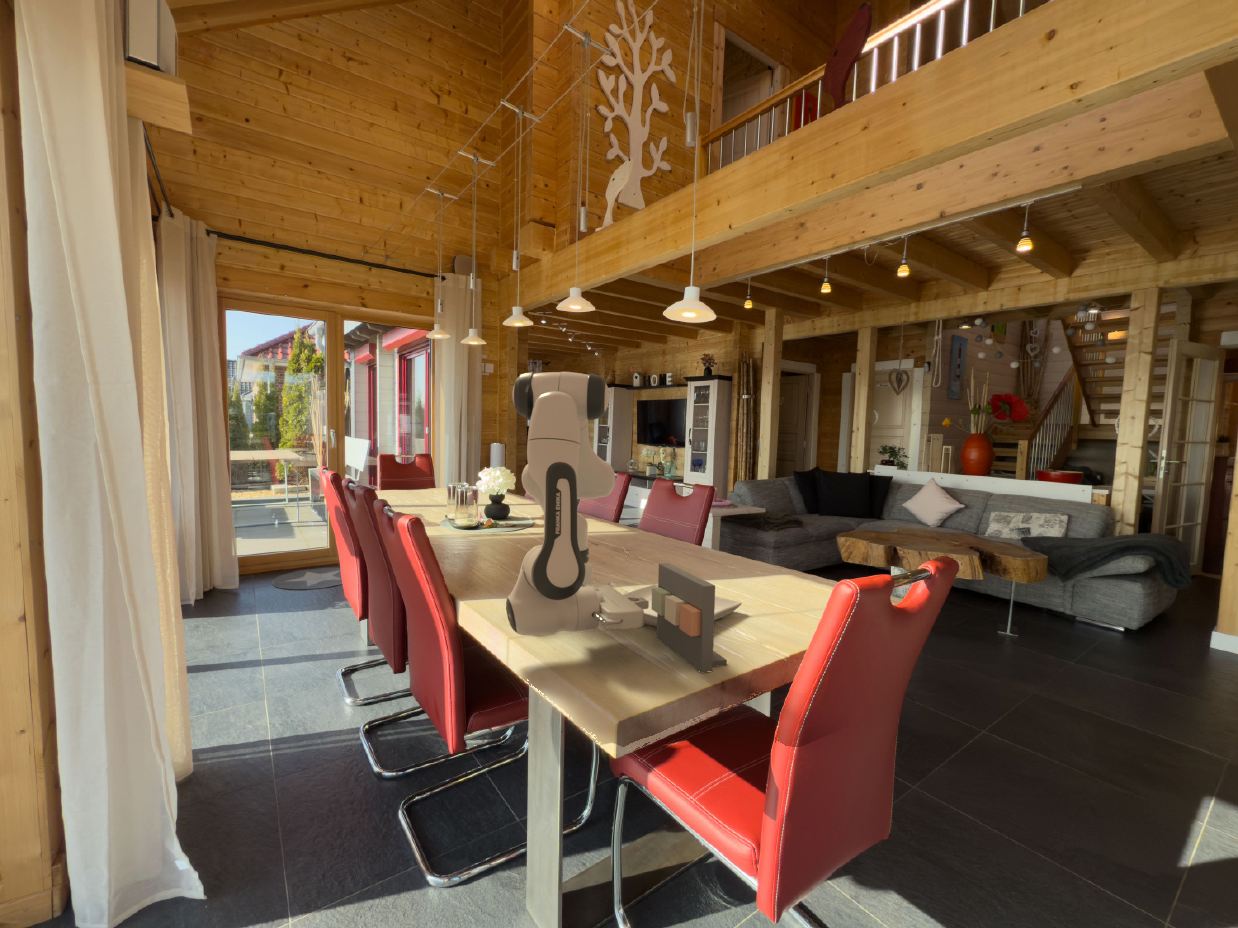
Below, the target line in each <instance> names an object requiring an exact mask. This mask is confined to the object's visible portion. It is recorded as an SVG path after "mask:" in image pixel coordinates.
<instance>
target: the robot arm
mask: <svg viewBox="0 0 1238 928" xmlns="http://www.w3.org/2000/svg"><path fill="white" fill-rule="evenodd" d="M511 394H512V395H511V396H512V403H513V406H514V409H515V412H516V413H518V414H519V415H520V416H521V417H523V418H526V420H527V421H529V426H528V432H527V434H528V435H527V445H526V447H527V448H526V460H527V461H526V462H527V464H526V465H525V466H524V468H523V470H522V473H521V483H522V487H523V490H524V491H525V492H526V493H527V494H528V495H529V496H530V497H531V498H533V499H534V501H536V502H537V504H538V505H539V506H540V508H541V510H542V512H543V542H542V544H538V545H535V546H533V547H531V548H530V549H529V550H527V552H526V553H525V554H524V556H523V557H522V561H521V567H520V570H519V575H518V577H517V580H516V582H515V584H514V587H513V589H512V591H511V593H510V594H509V595H508V596H507V598H506V601H505V609H506V610H505V611H506V616H507V619H508V622H509V625H510V627H511V629H512V630H513V631H514V632H515V633H517V634H518V635H521V636H528V637H529V636H530V637H531V636H532V637H533V636H548V635H550V636H551V635H554V634H558V633H559V632H569V633H575V632H584V631H593V630H596V629H597V628H598V627H599V624H600V625H603V626H604V627H606V628H607V629H610V630H630V629H631V630H632V629H635V630H636V629H640V628H642V627H643V626H644V624H645V623H644V611H643V609H648V607H649V602H648V601H647V600H646V599H644V598H643V597H630V596H624V595H623V594H622V593H621V592H620V591H618V590H617V589H616V588H614V587H613V586H611V585H608V584H595V583H594V580H595V579H594V568H593V566H592V565H591V564H590V563H589V561H590V559H589V557H590V549H589V547H588V535H589V534H588V533H589V532H588V529H589V528H588V527H589V526H588V521H587V519H586V517H585V516H583V515H582V514H581V513H579V512H578V500H594V499H600V498H605V497H608V496H610V495H611V493H612V492H613V490H614V489H615V486H616V480H617V479H616V474H615V473H616V472H615V470H614V468H613V467H612V466H611V464H610V463H609V462H607V461H605V460H603V459H602V458H601V457H600V456H599V455H597V453H596V452H595V450H594V449H593V447H592V446H591V441H590V434H589V431H590V430H589V421H592V420H598V419H601V418H602V417H603V416H604V415H605V413H606V411H607V409H608V407H609V403H610V396H611V395H610V389H609V387H608V385H607V381H606V380H605V379H604V378H603V376H601V375H598V374H595V373H589V374H585V373H579V372H573V371H572V372H571V371H560V372H559V371H558V372H556V371H554V372H553V371H551V372H550V371H549V372H536V373H535V372H534V371H531V372H525V373H520V375H519V376H518V377H517V378H516V379H515V382H514V385H513V388H512V393H511Z"/></svg>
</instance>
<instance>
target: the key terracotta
mask: <svg viewBox="0 0 1238 928" xmlns="http://www.w3.org/2000/svg"><path fill="white" fill-rule="evenodd" d="M679 629H681V630H682V631H683V632H685V633H686V634H688V635H689V636H699V635H701V610H700V609H699V608H697V607H695V606H694V605H692V604H684V605H680V615H679Z"/></svg>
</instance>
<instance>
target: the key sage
mask: <svg viewBox="0 0 1238 928" xmlns="http://www.w3.org/2000/svg"><path fill="white" fill-rule="evenodd" d="M665 596H670V591H668V590H666V589H665V588H663V587H657V588H652V610H653V611H655V612H656V613H658V614H659V615H661V616H663V615H665Z"/></svg>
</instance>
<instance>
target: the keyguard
mask: <svg viewBox="0 0 1238 928" xmlns="http://www.w3.org/2000/svg"><path fill="white" fill-rule="evenodd" d="M657 580H658V582H657V584H658V587H663V588H665V589H666V590H668V591H670V596H671V595H677V596H678V597H680V598H682V599H683V600H685V604H692V605H694V606H695V607H697V608H699V609H700V610H701V635H699V636H689V635H688V634H686V633H685V632H683V631H682V630H681V629H679V625H676V626H675V625H673V624H672V623H671V622H669V621H668V620H666V619H665V615H663V616H661V615H659V614H658V613H657V626H656V638H657V640H659V641H660V642H661V643H662V644H664V645H665V646H666V647H668V648H669V649H670V650H671V651H673V652H674V653H675V654H677V655H678V656H679V657H680V658H682V660H684V661H685V662H686V663H687V664H689V665H690V666H692V667H693V668H694V667H695V668H696V669H695V668H694V669H695V670H697V671H698V672H699V671H700V672H701V673H700V672H699V673H700V674H703V673H702V672H706V673H708V672H707V671H712V672H713V667H720V666H726V665H725V664H727V665H728V663H727V661H728V660H727V658H725V657H723V656H722V655H721V654H719V653H718V652H716V651H715V650H714V636H715V632H714V631H715V620H714V608H715V596H716V585H715V584H714V583H711V582H709V581H707V580H705V579H702V578H700V577H698V576H696V575H694V574H692V573H690V572H688V571H685V569H682V568H680V567H677V566H676V565H674V564H672V563H669V562H666V563H664V562H663V563H658V579H657Z"/></svg>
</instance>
